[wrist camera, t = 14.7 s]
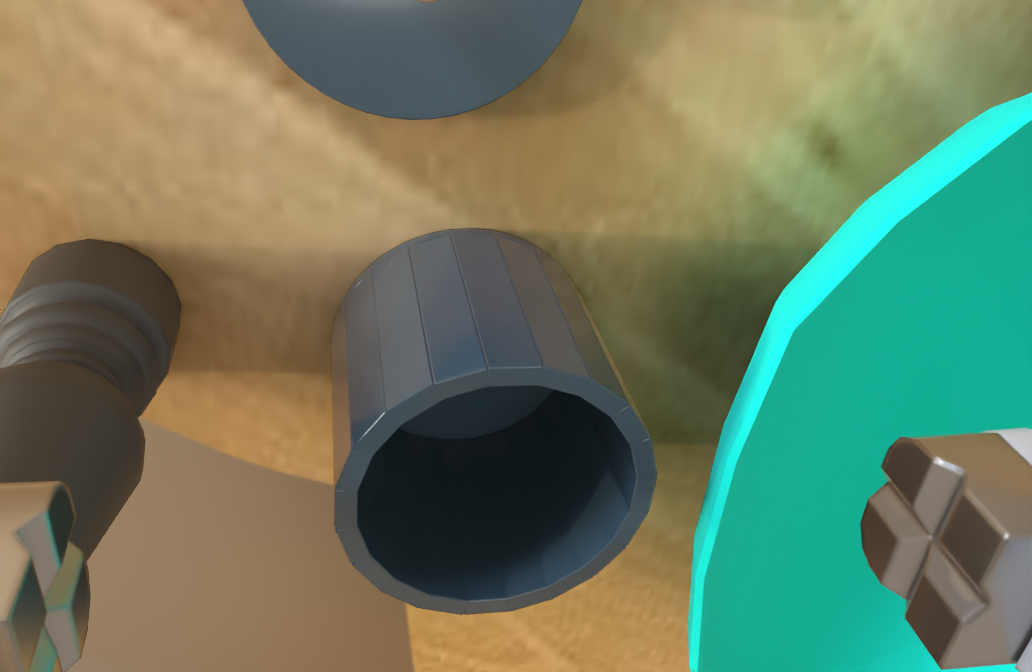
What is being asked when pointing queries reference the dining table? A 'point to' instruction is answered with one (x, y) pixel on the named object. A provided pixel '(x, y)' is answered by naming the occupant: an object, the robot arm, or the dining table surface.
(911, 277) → the table top decor
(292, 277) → the dining table surface
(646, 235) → the dining table surface
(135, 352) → the candle holder
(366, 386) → the crock
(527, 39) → the lid
